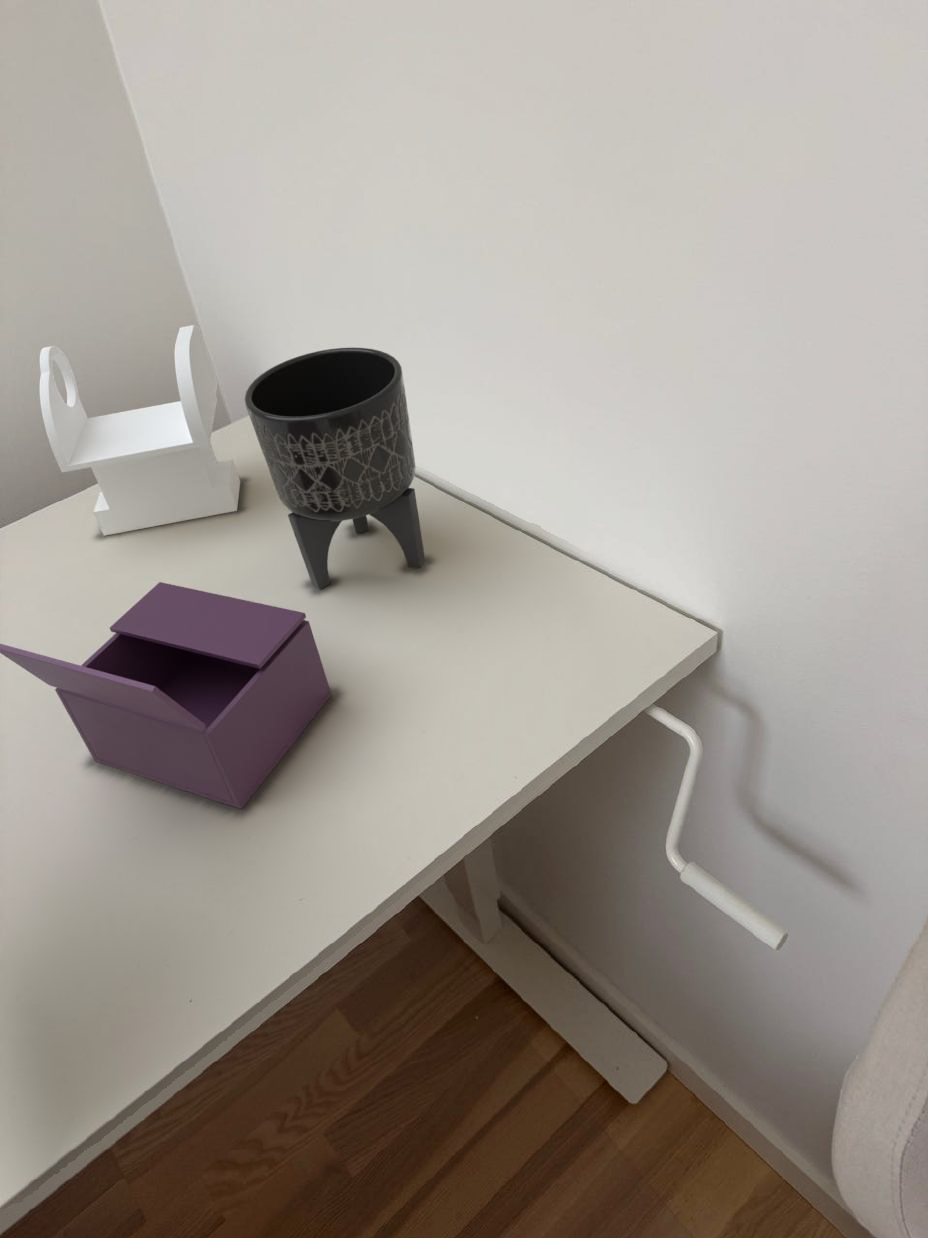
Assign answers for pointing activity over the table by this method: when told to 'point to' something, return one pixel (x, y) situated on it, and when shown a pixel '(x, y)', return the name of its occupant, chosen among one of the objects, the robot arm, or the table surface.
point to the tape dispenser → (145, 445)
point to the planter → (338, 448)
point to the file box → (205, 691)
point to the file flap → (102, 686)
